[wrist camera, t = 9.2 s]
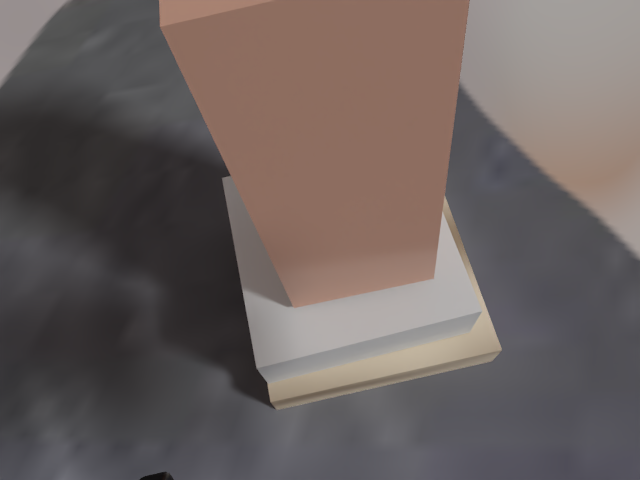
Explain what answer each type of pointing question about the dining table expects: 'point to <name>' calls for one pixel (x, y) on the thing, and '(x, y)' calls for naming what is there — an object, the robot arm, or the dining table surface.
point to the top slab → (344, 308)
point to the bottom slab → (397, 357)
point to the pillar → (330, 128)
